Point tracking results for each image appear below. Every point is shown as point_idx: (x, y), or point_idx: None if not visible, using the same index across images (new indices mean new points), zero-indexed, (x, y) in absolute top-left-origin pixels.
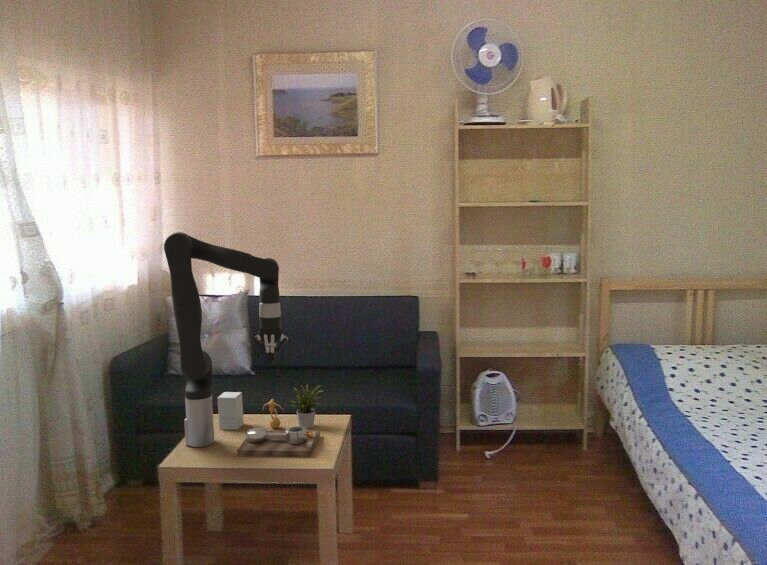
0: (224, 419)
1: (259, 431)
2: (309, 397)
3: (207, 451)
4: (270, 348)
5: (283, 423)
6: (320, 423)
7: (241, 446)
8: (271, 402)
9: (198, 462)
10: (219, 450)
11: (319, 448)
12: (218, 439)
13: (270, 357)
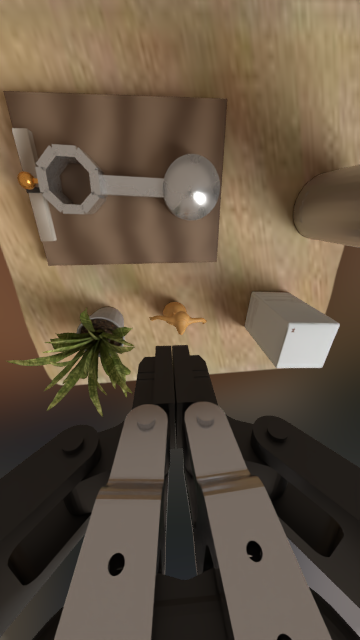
0: (289, 299)
1: (183, 186)
2: (65, 341)
3: (303, 144)
4: (188, 479)
5: (164, 334)
6: None
7: (220, 135)
8: (180, 316)
9: (321, 43)
10: (274, 152)
11: None
12: (285, 233)
13: (170, 370)
